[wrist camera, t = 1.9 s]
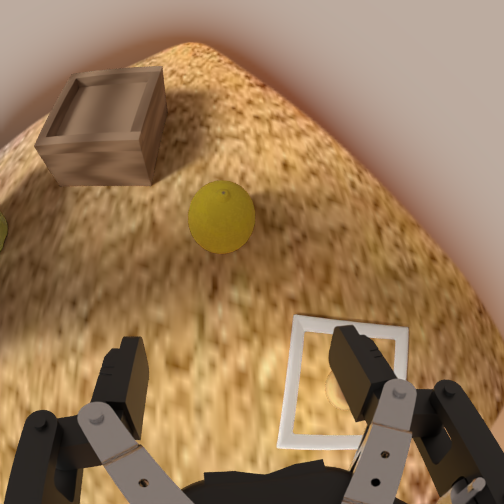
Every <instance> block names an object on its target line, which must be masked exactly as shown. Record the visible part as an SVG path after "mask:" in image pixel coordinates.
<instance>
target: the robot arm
mask: <svg viewBox="0 0 504 504" xmlns="http://www.w3.org/2000/svg"><path fill="white" fill-rule="evenodd" d="M329 364H330V367H331V369H332V372H333V374H334V376H335V378H336V380H337V382H338V384H339V387H340V389H341V391H342V393H343V395H344V397H345V400H346V402H347V404H348V406H349V408H350V410H351V413H352V415H353V417H354V419H355V421H356V422H359V421H363V420H365V421H366V423H367V426H366V428H365V431H364V433H363V436H362V439H361V441H360V444H359V446H358V449H357V451H356V454H355V456H354V458H353V461H352V463H351V465H350V467H349V469H348V471H347V470H344V469H341V468H336V467H329V466H325V465H324V462H323V459H321V460H316V461H310V462H305V463H299V464H294V465H291V466H289V467H286V468H283V469H281V470H278V471H275V472H272V473H270V474H265V475H264V474H253V473H245V472H237V471H227V472H204V480H201V481H198V482H195V483H192V484H190V485H188V486H186V487H184V488H183V489H181V490H180V488H179V487H178V486H177V485H176V484H175V483H174V482H173V481H172V480H171V479H170V478H169V476H168V475H167V474H166V473H165V472H164V471H163V470H162V469H161V467H160V466H159V465H158V464H157V463H156V462H155V460H154V459H153V458H152V457H151V456H150V454H149V453H148V452H147V451H146V449H145V448H144V447H143V446H142V445H139V444H138V443H137V442H136V441H135V440H141V433H142V424H143V416H144V409H145V401H146V394H147V387H148V380H149V366H148V361H147V357H146V353H145V348H144V344H143V339H142V337H123V339H122V342H121V345H120V349H114V348H112V349H111V350H110V351H109V352H108V354H107V355H106V356H105V357H104V360H103V363H102V368H101V370H100V373H99V374H100V375H99V376H98V379H97V383H96V386H95V389H94V392H93V396H92V399H91V402H90V403H89V404H87V405H85V406H84V407H82V408H81V410H80V411H79V413H78V415H75V416H70V417H64V418H56V416H55V415H54V414H53V413H52V412H50V411H47V410H39V411H35V412H33V413H32V414H31V415H29V416H28V418H27V419H26V421H25V424H24V427H23V431H22V434H21V437H20V440H19V444H18V447H17V451H16V454H15V458H14V462H13V465H12V469H11V473H10V478H9V482H8V486H7V491H6V496H5V500H4V504H80V495H81V485H82V476H83V468H88V467H94V466H100V465H103V466H104V467H105V469H106V470H107V472H108V473H109V475H110V476H111V478H112V479H113V481H114V482H115V484H116V485H117V487H118V488H119V489H120V491H121V492H122V494H123V495H124V496H125V498H126V499H127V500H128V502H129V503H130V504H407V503H405V502H403V501H401V500H400V499H398V498H396V497H395V496H396V493H397V490H398V486H399V483H400V480H401V476H402V473H403V469H404V466H405V462H406V458H407V455H408V451H409V447H410V442H411V438H413V439H414V441H415V443H416V445H417V448H418V450H419V452H420V454H421V456H422V458H423V460H424V463H425V465H426V467H427V469H428V471H429V474H430V476H431V478H432V480H433V482H434V485H435V487H436V489H437V491H438V494H439V496H440V499H439V501H438V503H437V504H504V453H503V451H502V449H501V448H500V446H499V444H498V443H497V441H496V439H495V438H494V436H493V435H492V433H491V431H490V430H489V428H488V427H487V425H486V423H485V422H484V420H483V419H482V417H481V416H480V414H479V413H478V411H477V410H476V408H475V407H474V405H473V404H472V402H471V401H470V399H469V398H468V396H467V395H466V393H465V392H464V390H463V389H462V388H461V386H460V385H459V384H457V383H456V382H454V381H451V380H441V381H439V382H437V383H436V385H435V386H434V388H433V389H415V387H414V386H413V385H412V384H411V383H410V382H408V381H406V380H403V379H398V378H397V376H396V375H395V373H394V372H393V370H392V369H391V367H390V365H389V364H388V362H387V361H386V359H385V358H384V357H383V355H382V353H381V352H380V350H378V347H377V346H376V344H375V343H374V341H373V340H371V339H370V338H368V337H367V336H366V335H364V334H363V335H360V334H359V333H358V331H357V330H356V328H355V327H354V325H343V326H336V327H335V328H334V331H333V336H332V341H331V346H330V350H329ZM444 427H445V428H446V430H447V432H448V434H449V435H448V434H447V432H446V430H445V428H444ZM449 436H450V437H451V439H450V437H449ZM451 440H452V441H451Z"/></svg>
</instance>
